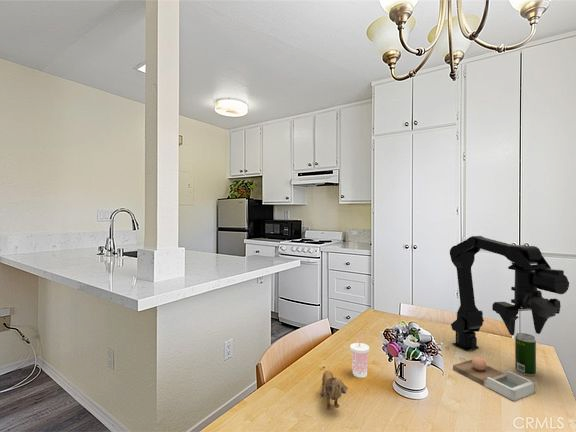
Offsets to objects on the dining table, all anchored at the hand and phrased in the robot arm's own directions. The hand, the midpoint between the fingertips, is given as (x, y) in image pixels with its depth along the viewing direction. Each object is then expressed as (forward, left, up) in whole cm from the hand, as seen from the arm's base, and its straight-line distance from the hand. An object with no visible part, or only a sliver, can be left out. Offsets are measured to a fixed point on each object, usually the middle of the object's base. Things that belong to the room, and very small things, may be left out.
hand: (524, 334), depth 98 cm
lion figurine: (-14, -63, -14) cm, 66 cm away
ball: (-7, -12, -10) cm, 17 cm away
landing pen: (+3, -12, -14) cm, 18 cm away
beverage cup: (-23, -47, -14) cm, 54 cm away
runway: (-7, -12, -14) cm, 19 cm away
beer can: (-2, +3, -14) cm, 14 cm away
